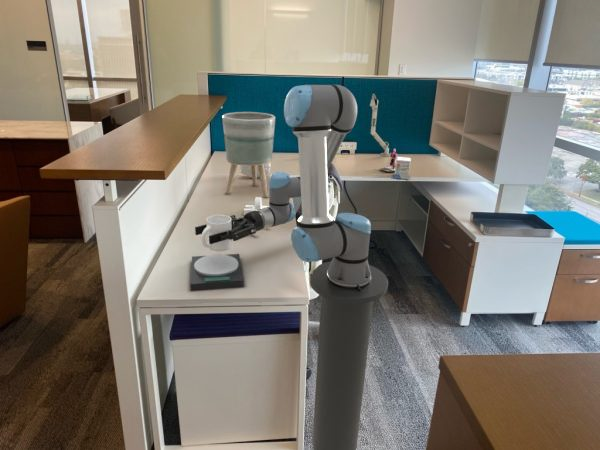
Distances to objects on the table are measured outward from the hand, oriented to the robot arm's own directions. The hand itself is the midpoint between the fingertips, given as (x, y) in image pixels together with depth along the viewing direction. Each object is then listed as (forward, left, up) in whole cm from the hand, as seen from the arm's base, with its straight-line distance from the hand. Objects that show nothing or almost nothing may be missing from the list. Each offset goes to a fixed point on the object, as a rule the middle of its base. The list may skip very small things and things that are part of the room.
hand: (202, 235), depth 147 cm
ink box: (+111, -120, -15) cm, 164 cm away
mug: (+2, -4, -6) cm, 8 cm away
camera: (+117, -30, -15) cm, 122 cm away
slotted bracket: (+58, -25, -15) cm, 65 cm away
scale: (+1, -4, -15) cm, 16 cm away
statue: (+125, -118, -15) cm, 173 cm away
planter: (+90, -24, -15) cm, 94 cm away
